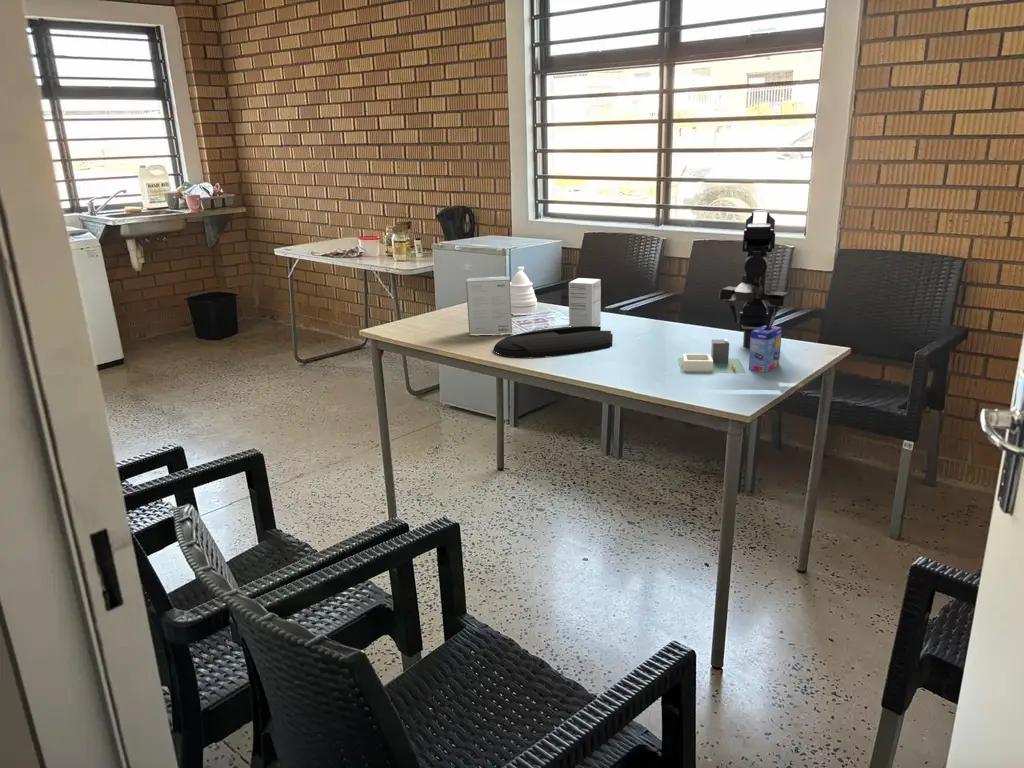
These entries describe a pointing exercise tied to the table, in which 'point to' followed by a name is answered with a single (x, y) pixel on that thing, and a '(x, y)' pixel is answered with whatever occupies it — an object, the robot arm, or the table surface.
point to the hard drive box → (489, 305)
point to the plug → (720, 351)
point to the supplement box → (584, 302)
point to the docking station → (555, 342)
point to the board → (721, 367)
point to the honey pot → (522, 294)
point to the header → (697, 362)
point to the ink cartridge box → (765, 348)
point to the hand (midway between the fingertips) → (752, 325)
